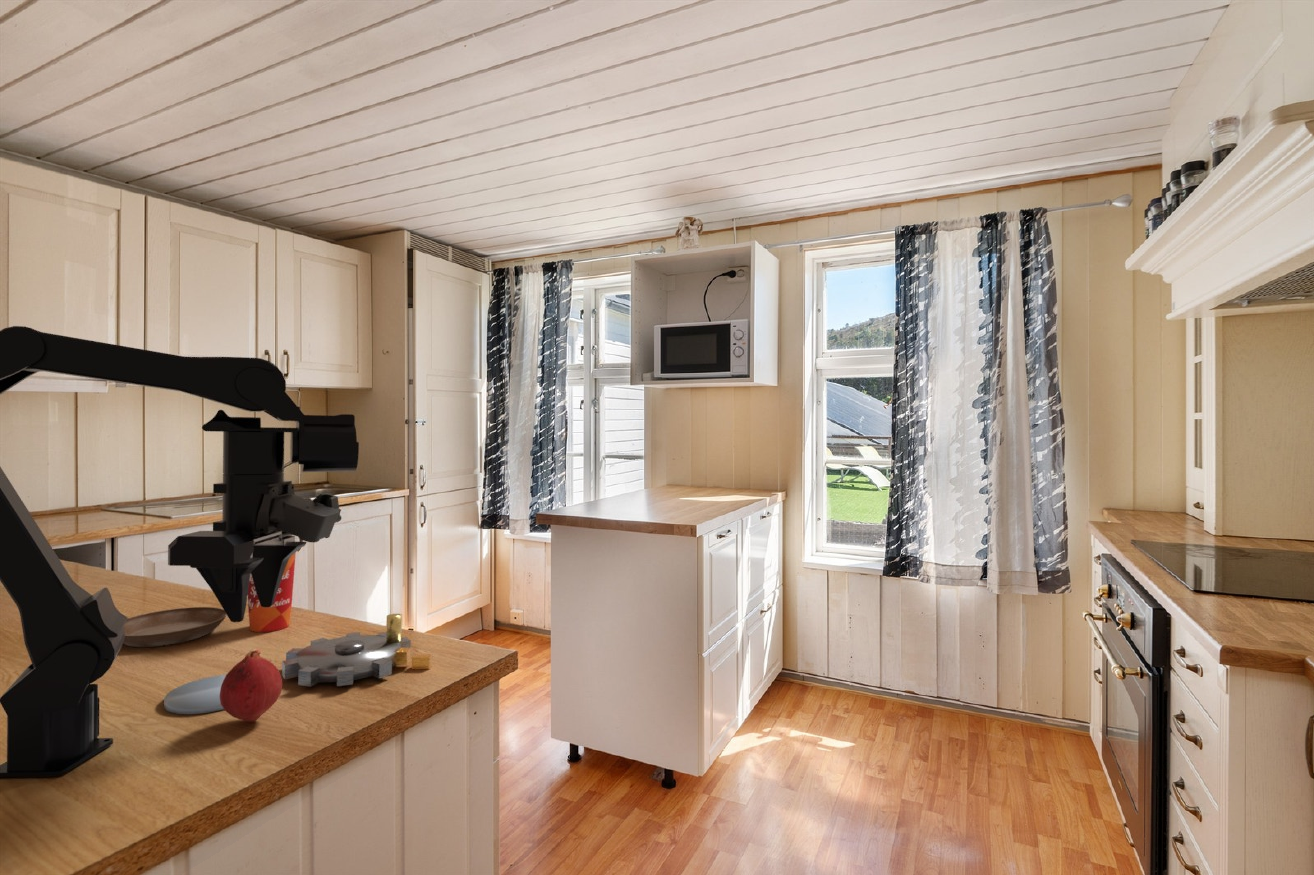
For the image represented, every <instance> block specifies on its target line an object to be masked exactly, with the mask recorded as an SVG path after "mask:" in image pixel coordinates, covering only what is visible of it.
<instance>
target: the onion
mask: <svg viewBox="0 0 1314 875" xmlns="http://www.w3.org/2000/svg"><path fill="white" fill-rule="evenodd" d="M260 655H261V650H259V649H258V648H252V649H251V650H250V651H248V652H247V654H246V655H245V657H244V658H243V659H242V660H240V661H238V662H237V663H236V664H235V665H234V666H232V668H231V669H230V670H229V671H228V672H227V673H226V674H227V675H226V674H225V675H226V677H225V678H224V680H223V683H222V685H221V690H220V702H221V705H222V707H223V708H224V710H223V711H225V712H226V713H227V714H229V715H230V716H232V717H233V718H235V719H238V720H241V721H243V722H246V723H254V722H256V721H257V720H259V719H260V717H262V716H263V715H264V714H265V713H266V712H268V711H269V710H270V709H271V707H272V706H273V705H275V703H276V702H277V701H278V699H279V697H280V696H281V694H282V689H283V678H282V674H281V673H280V670H279V669H278V668H277V666H276V665H275V664H274V663H273V662H272V661H269V660H268V659H266V658H263V657H261V656H260Z"/></svg>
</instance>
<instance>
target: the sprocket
mask: <svg viewBox="0 0 1314 875" xmlns="http://www.w3.org/2000/svg"><path fill="white" fill-rule="evenodd" d="M402 616H403V615H402V614H401V613H390V614H388V615H386V630H385V631H386V632H384V631H381V632H380V633H377V634H361V632H347V633H346V634H345V635H346V636H341V637H335V638H331V639H328V638H325V637H321V638H316V639H313V640H310V644H309V645H307V646H306V647H304V648H302V647H301V648H296V647H295V648H292V649H290V650H288V651H287V652H286V653H285V659H284V660H282V661H281V677H283V679H284V680H287V679H292V678H297V677H298V678H297V679H298V681H297V682H298V683H297V684H298V686H304V687H312V686H314V685H317V684H318V683H336V687H342V686H350V685H351V686H352V685H353V684H354V681H355V680H361V679H365V678H369V677H375V678H378V679H381V678H384V677H387V676H389V675H392V674H393V672H392V671H393V668H394V667H396V666H408V665H409V663H411V662H412V647H411V644H412V641H411V639H410V638H408V637H402V635H403V634H402V630H403V629H402V626H403V624H402V623H403V618H402Z"/></svg>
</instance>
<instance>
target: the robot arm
mask: <svg viewBox="0 0 1314 875" xmlns="http://www.w3.org/2000/svg"><path fill="white" fill-rule="evenodd" d="M39 372H46V373H51V374H52V373H53V374H59V375H66V376H73V377H80V378H85V379H93V380H99V381H101V380H102V381H107V382H114V383H120V384H128V385H134V386H141V387H149V388H153V389H155V388H156V389H161V390H166V391H167V390H169V391H174V392H175V391H176V392H181V393H185V394H189V395H192V396H195V397H198V398H202V399H205V400H207V401H212V402H215V403H218V404H222V405H224V406H225V405H226V406H227V407H232V408H235V409H238V410H242V411H245V412H251V413H260V412H264V413H266V414H267V415H269V416H270V417H272V418H274V419H276V420H277V421H280V422H295V425H296V426H295V427H276V426H275V427H267V426H266V427H265V426H264V427H262V420H261V417H258V416H257V417H253V416H250V417H248V416H229V415H228V414H227V413H226V412H225V410H223V409H218V410H217V412H216V414H215V415H214V416H213V418H211V419H210V420H209V421H207V422H206V423H204V424H203V425H202V426H201V429H202V431H204V432H222V433H223V435H222V436H223V438H222V439H223V440H222V482H218V483H213V485H212V486H213V487H212V488H213V489H212V490H213V491H212V493H213V494H222V515H221V516H222V517H221V518H222V519H221V520H217V521H214V522H212V530H198V531H194V532H190V533H186V534H182V535H178V536H177V537H175V539H173V540H172V541H171V542H170V543H169V544H168V545H167V565H168V566H170V567H171V566H173V567H174V566H176V567H180V566H182V567H183V566H184V567H185V566H186V567H190V568H191V569H196V571H198V573H199V574H200V576H201V577H202V578H203V580H204V581H205V583H206V584H207V585H208V587H210V590H211V591H212V593H213V594H214V596H215V598H216V599H217V601H218V602H219V604H220V605H221V606H220V607H222V608H221V609H224V611H225V612H226V614H227V616H226V617H227V618H228V619H229V621H230V622H231V623H240V622H241V623H242V622H243V621H244V618H245V614H246V609H247V603H248V587H249V579H250V573H251V575H252V579H253V582H254V586H255V590H256V593H257V596H258V599H259V602H260V605H261V606H262V607H271V606H272V605H273V603H274V600H275V597H276V594H277V591H278V588H279V585H280V582H281V579H282V576H283V573H284V570H285V568H286V565H287V563H288V560H289V558H290V557H291V556H292V555H293V554H294V553H297V552H298V551H299V550H300V549H302V548H303V547H305V546H306V545H307V543H317V542H319V541H320V540H322V539H329V538H330V536H331V534H332V532H333V529H334V526H335V524H336V523H339V522H341V520H342V515H341V512H342V509H341V508H340V506H339V505H340V504H339V496H337V495H334V494H332V493H329V492H325V493H319V494H318V495H317V496H316V497H314V498H313V499H312V497H308V496H307V497H302V496H298V495H295V485H294V484H293V481H292V480H285V433H290V439H289V440H290V442H289V443H290V444H289V445H290V446H289V448H290V451H289V452H290V453H289V454H290V457H289V458H290V464H297V463H298V465H300V469H301V472H302V473H322V472H323V473H325V472H326V473H329V472H333V473H334V472H356V471H357V469H358V464H359V450H360V444H359V441H358V440H357V439H358V438H357V429H356V425H355V424H356V422H355V421H356V418H355V415H354V414H353V413H352V414H349V413H348V414H347V413H343V414H342V413H341V414H337V415H324V414H323V415H322V414H321V415H319V414H317V415H316V414H304V413H303V411H301V406H297V404H296V403H295V402H294V401H293V400H292V398H291V397H290V395H288V394H287V392H286V391H287V387H286V386H287V382H286V378H285V376H284V373H283V372H282V371H281V370H280V368H278V366H277V365H276V364H275V363H273V362H271V361H269V360H266V359H263V358H260V357H247V356H246V357H241V356H185V355H184V356H182V355H177V354H172V353H171V354H170V353H165V352H159V351H154V350H149V349H148V350H147V349H143V348H137V347H136V348H135V347H131V346H124V345H119V344H112V343H107V342H101V341H97V340H89V339H84V338H77V337H71V336H66V335H60V334H56V333H54V334H53V333H49V332H43V331H41V330H40V331H39V330H36V329H34V328H32V327H27V326H25V325H24V326H21V325H13V326H9V327H5V328H3V329H1V330H0V395H3V394H4V393H5V392H7V391H9V390H11V389H12V388H13V387H15V386H17V385H18V384H20V383H21V382H23V381H24V380H26V379H27V378H29V377H31V376H33V375H35V374H37V373H39ZM296 537H298V539H299V540H300V541H296ZM0 583H1V584H2V585H3V587H4V589H5V590H6V592H7V593H8V595H9V596H10V597H11V599H12V600H13V602H14V604H15V605H16V607H17V609H18V612H19V616H20V623H21V627H22V634H23V635H22V636H23V641H24V645H25V649H26V651H27V654H28V656H29V658H30V662H31V664H30V665H28V666H27V667H26V668H25V669H24V670H23V671H22V672H21V673H20V675H19V676H18V677H17V678H16V680H14V681H13V682H12V684H11V685H10V686H9V688H8V689H7V690H6V691H5V692H4V693H3V694H2V696H0V705H1V707H2V709H3V710H4V712H5V714H6V717H7V718H6V719H7V720H6V724H7V725H6V730H7V731H6V761H5V762H4V763H2V764H0V778H20V777H21V778H22V777H23V778H26V777H27V778H30V777H31V778H32V777H33V778H34V777H42V778H43V777H59V776H62V775H65V774H66V773H67V772H69V771H71V770H73V769H74V768H77V767H78V766H79V765H81V764H83V763H84V762H86V761H87V760H90V758H92V757H94V756H95V755H97V754H99V753H100V752H102V751H104V750H106V749H107V748H108V747H110V746H112V745H113V744H114V738H112V737H99V735H100V697H99V684H98V683H94V682H96V681H97V680H99V679H100V678H102V677H104V675H105V674H106V673H107V672H108V671H110V669H111V667H112V665H113V663H115V662H114V661H115V660H116V658H117V656H118V654H119V653H120V650H121V649H122V646H123V642H124V639H125V631H124V628H123V626H124V624H125V622H126V621H127V619H128V616H126V615H124V614H123V613H121V612H120V611H119V609H117V607H116V605H115V602H114V601H113V598H112V595H111V592H110V590H109V588H108V587H104V588H102V589H100V590H98V591H96V592H95V593H93V594H91V593H89V592H88V591H87V590H85V589H84V588H82V587H81V586H80V585H79V584H77V583H76V581H74V579H73V578H72V577H71V576H70V574H69V572H68V571H67V569H66V568H65V566H64V565H63V563H62V561H61V559H60V558H59V556H58V555H57V553H56V552H55V550H54V549H53V547H52V545H51V544H50V541H48V539H47V538H46V536H45V535H44V533H43V532H42V530H41V528H40V527H39V525H38V523H37V522H36V520H35V518H34V517H33V516H32V514H31V512H30V511H29V509H28V508H27V506H26V504H25V503H24V502H23V500H22V498H21V497H20V496H19V494H18V492H17V490H16V489H15V486H14V485H13V484H12V483H11V482H10V480H9V478H8V476H7V475H6V473H5V472H4V470H3V469H2V467H1V466H0Z"/></svg>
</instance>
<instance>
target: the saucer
mask: <svg viewBox="0 0 1314 875" xmlns="http://www.w3.org/2000/svg"><path fill="white" fill-rule="evenodd" d="M226 617H228V616H227V614H226V612H225V611H224V609H223V608H220V607H211V606H208V607H207V606H197V607H196V606H195V607H194V606H193V607H192V606H191V607H181V608H171V609H170V608H169V609H166V610H158V611H153V612H147V613H143V614H139V615H136V616H132V617H129V618H128V617H127V618H128V619H127V621H126V622H125V624H124V626H123V628H124V631H125V639H124V642H123V644H124V645H126V646H129V647H133V648H134V647H135V648H153V647H154V648H155V646H156V647H163V645H165V646H170V645H169V644H172V645H177V643H178V644H182V643H181V642H183V643H186V642H185V641H187V642H190V641H189V640H191V641H193V640H192V639H194V640H196V639H197V638H198V639H199V638H203V637H205V636H207V635H208V634H211V633H212V632H213V631H214V630H216V629H217V628H218V627H219V626H220V625H221V624H222V622H224V620H225V619H226ZM204 635H205V636H204ZM202 636H203V637H202ZM123 644H122V645H123Z"/></svg>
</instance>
